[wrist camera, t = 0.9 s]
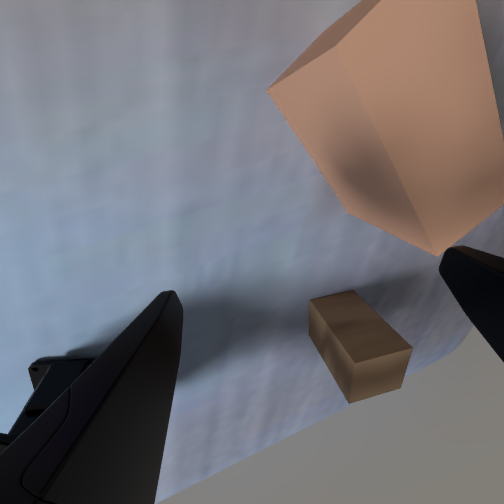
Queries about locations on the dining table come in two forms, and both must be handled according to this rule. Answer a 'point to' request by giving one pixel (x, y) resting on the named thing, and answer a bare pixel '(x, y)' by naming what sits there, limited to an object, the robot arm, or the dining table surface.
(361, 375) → the walnut block
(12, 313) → the dining table surface
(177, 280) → the dining table surface
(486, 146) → the terracotta block
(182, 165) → the dining table surface
